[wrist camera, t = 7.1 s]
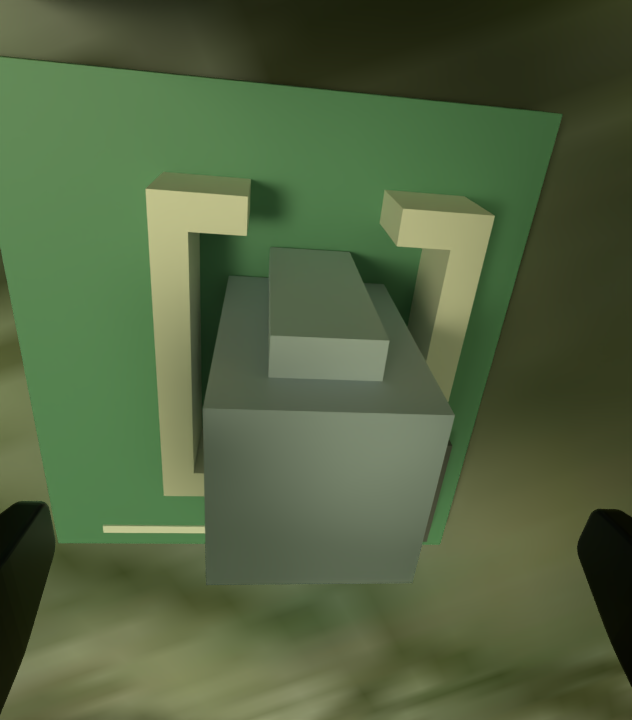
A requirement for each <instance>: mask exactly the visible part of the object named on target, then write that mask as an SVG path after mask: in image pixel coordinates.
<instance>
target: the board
mask: <svg viewBox="0 0 632 720" xmlns="http://www.w3.org/2000/svg"><path fill="white" fill-rule="evenodd" d="M562 115H563V114H558V113H551V112H544V111H536V110H526V109H516V108H506V107H497V106H487V105H477V104H467V103H457V102H448V101H438V100H428V99H418V98H408V97H398V96H389V95H379V94H369V93H359V92H349V91H340V90H330V89H320V88H310V87H300V86H291V85H281V84H271V83H261V82H251V81H242V80H232V79H222V78H212V77H202V76H192V75H183V74H173V73H163V72H153V71H143V70H134V69H124V68H114V67H104V66H94V65H85V64H75V63H65V62H55V61H45V60H35V59H26V58H16V57H6V56H0V248H1V253H2V258H3V263H4V268H5V273H6V278H7V283H8V288H9V293H10V298H11V304H12V309H13V314H14V319H15V324H16V329H17V334H18V339H19V344H20V349H21V355H22V360H23V365H24V370H25V375H26V380H27V385H28V390H29V395H30V400H31V405H32V411H33V416H34V421H35V426H36V431H37V436H38V441H39V446H40V451H41V456H42V461H43V467H44V472H45V477H46V482H47V487H48V492H49V497H50V502H51V507H52V512H53V517H54V523H55V528H56V533H57V538H58V543H170V544H205V500H204V448H203V405H204V400H205V394H206V389H207V384H208V379H209V374H210V369H211V364H212V359H213V354H214V349H215V344H216V339H217V334H218V328H219V323H220V318H221V313H222V308H223V303H224V298H225V293H226V288H227V283H228V278H229V276H246V277H264V278H269V258H270V247H277V248H293V249H310V250H326V251H342V252H350V254H351V256H352V258H353V261H354V263H355V265H356V267H357V269H358V272H359V274H360V276H361V278H362V281H363V283H372V284H384V285H385V287H386V289H387V291H388V293H389V295H390V296H391V298H392V300H393V302H394V304H395V306H396V307H397V309H398V311H399V313H400V315H401V317H402V319H403V320H404V322H405V324H406V326H407V328H408V330H409V331H410V333H411V335H412V337H413V339H414V341H415V343H416V344H417V346H418V348H419V350H420V352H421V354H422V355H423V357H424V359H425V361H426V363H427V365H428V367H429V368H430V370H431V372H432V374H433V376H434V378H435V379H436V381H437V383H438V385H439V387H440V389H441V391H442V392H443V394H444V396H445V398H446V400H447V402H448V403H449V405H450V407H451V409H452V411H453V413H454V415H455V417H454V421H453V425H452V429H451V433H450V437H449V441H448V445H447V449H446V453H445V456H444V460H443V464H442V468H441V472H440V476H439V480H438V484H437V488H436V492H435V496H434V500H433V504H432V507H431V511H430V515H429V519H428V523H427V527H426V531H425V535H424V539H423V543H422V544H440V543H441V539H442V536H443V532H444V529H445V525H446V522H447V518H448V515H449V511H450V508H451V504H452V501H453V497H454V494H455V490H456V487H457V483H458V480H459V476H460V472H461V469H462V465H463V462H464V458H465V455H466V451H467V448H468V444H469V441H470V437H471V434H472V430H473V427H474V423H475V420H476V416H477V413H478V409H479V406H480V402H481V399H482V395H483V392H484V388H485V385H486V381H487V378H488V374H489V371H490V367H491V364H492V360H493V357H494V353H495V350H496V346H497V343H498V339H499V336H500V332H501V329H502V325H503V322H504V318H505V315H506V311H507V308H508V304H509V301H510V297H511V294H512V290H513V287H514V283H515V280H516V276H517V273H518V269H519V266H520V262H521V259H522V255H523V252H524V248H525V245H526V241H527V238H528V234H529V231H530V227H531V224H532V220H533V217H534V213H535V210H536V206H537V203H538V199H539V196H540V192H541V189H542V185H543V182H544V178H545V174H546V171H547V167H548V164H549V160H550V157H551V153H552V150H553V146H554V143H555V139H556V136H557V132H558V129H559V125H560V122H561V118H562Z"/></svg>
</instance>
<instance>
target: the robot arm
mask: <svg viewBox="0 0 632 720" xmlns="http://www.w3.org/2000/svg"><path fill="white" fill-rule="evenodd" d="M577 551H578V556H579V559H580V562H581V565H582V567H583V570H584V573H585V575H586V578H587V581H588V584H589V586H590V589H591V592H592V594H593V597H594V600H595V602H596V605H597V608H598V611H599V613H600V616H601V619H602V621H603V624H604V627H605V629H606V632H607V634H608V637H609V639H610V642H611V644H612V646H613V649H614V651H615V653H616V655H617V657H618V660H619V662H620V664H621V666H622V668H623V670H624V672H625V674H626V676H627V678H628V680H629V682H630V685H631V687H632V517H631V516H629V515H627V514H626V513H624V512H623V511H621V510H617V509H596V510H594V511H593V512H592V513H591V515H590V517H589V519H588V521H587V523H586V525H585V527H584V530H583V532H582V534H581V536H580V538H579V541H578V545H577ZM54 552H55V535H54V530H53V525H52V520H51V515H50V510H49V507H48V505H47V504H46V503H45V502H42V501H20V502H17V503H15V504H13V505H11V506H10V507H9V508H7V509H6V510H5V511H3V512H2V513H1V514H0V714H1V711H2V709H3V707H4V704H5V702H6V699H7V697H8V694H9V692H10V689H11V687H12V685H13V682H14V680H15V677H16V675H17V672H18V670H19V667H20V665H21V662H22V659H23V657H24V654H25V651H26V648H27V645H28V642H29V638H30V635H31V632H32V628H33V625H34V621H35V618H36V615H37V611H38V608H39V604H40V601H41V597H42V594H43V590H44V587H45V584H46V580H47V577H48V573H49V570H50V566H51V563H52V560H53V556H54Z"/></svg>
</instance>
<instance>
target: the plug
mask: <svg viewBox="0 0 632 720" xmlns="http://www.w3.org/2000/svg"><path fill="white" fill-rule="evenodd" d="M454 417H455V415H454V413H453V411H452V409H451V407H450V405H449V403H448V402H447V400H446V398H445V396H444V394H443V392H442V391H441V389H440V387H439V385H438V383H437V381H436V379H435V378H434V376H433V374H432V372H431V370H430V368H429V367H428V365H427V363H426V361H425V359H424V357H423V355H422V354H421V352H420V350H419V348H418V346H417V344H416V343H415V341H414V339H413V337H412V335H411V333H410V331H409V330H408V328H407V326H406V324H405V322H404V320H403V319H402V317H401V315H400V313H399V311H398V309H397V307H396V306H395V304H394V302H393V300H392V298H391V296H390V295H389V293H388V291H387V289H386V287H385V285H384V284H372V283H363V281H362V278H361V276H360V274H359V272H358V269H357V267H356V265H355V263H354V261H353V258H352V256H351V254H350V252H342V251H326V250H310V249H293V248H277V247H270V258H269V278H264V277H246V276H229V278H228V283H227V288H226V293H225V298H224V303H223V308H222V313H221V318H220V323H219V328H218V334H217V339H216V344H215V349H214V354H213V359H212V364H211V369H210V374H209V379H208V384H207V389H206V394H205V400H204V405H203V448H204V500H205V553H206V585H253V584H370V583H412V582H413V578H414V574H415V570H416V566H417V562H418V558H419V554H420V551H421V547H422V543H423V539H424V535H425V531H426V527H427V523H428V519H429V515H430V511H431V507H432V504H433V500H434V496H435V492H436V488H437V484H438V480H439V476H440V472H441V468H442V464H443V460H444V456H445V453H446V449H447V445H448V441H449V437H450V433H451V429H452V425H453V421H454Z"/></svg>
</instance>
